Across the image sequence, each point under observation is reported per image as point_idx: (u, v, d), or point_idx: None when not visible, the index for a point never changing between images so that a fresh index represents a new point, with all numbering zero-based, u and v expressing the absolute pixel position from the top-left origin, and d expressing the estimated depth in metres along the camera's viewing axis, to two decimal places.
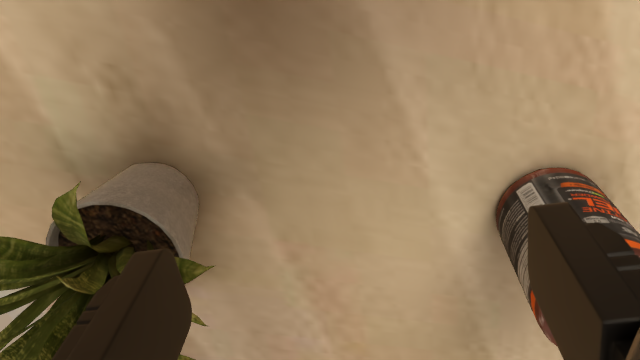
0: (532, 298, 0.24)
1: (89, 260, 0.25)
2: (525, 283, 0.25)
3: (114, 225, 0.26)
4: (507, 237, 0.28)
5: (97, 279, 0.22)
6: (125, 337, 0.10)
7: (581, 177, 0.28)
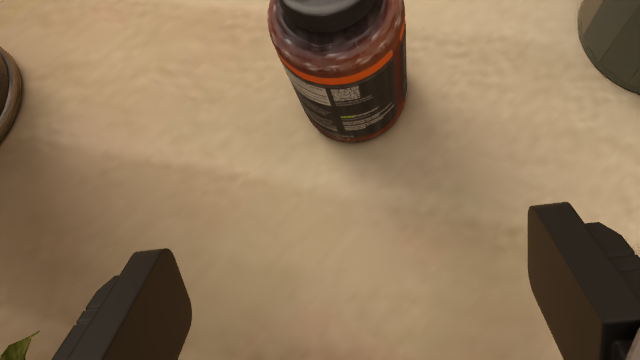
0: (303, 76, 0.23)
1: None
2: (309, 88, 0.24)
3: None
4: (317, 116, 0.27)
5: None
6: (125, 337, 0.10)
7: None
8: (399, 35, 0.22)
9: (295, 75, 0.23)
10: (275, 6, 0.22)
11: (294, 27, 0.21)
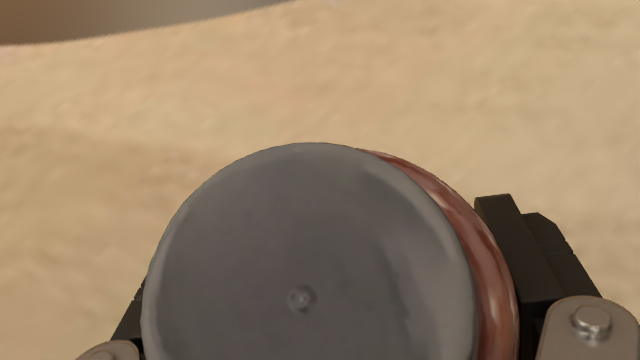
0: None
1: None
2: None
3: None
4: None
5: None
6: None
7: None
8: None
9: None
10: None
11: None
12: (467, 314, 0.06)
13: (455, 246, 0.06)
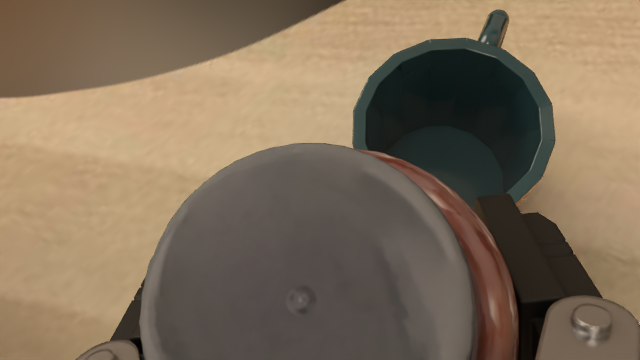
0: None
1: None
2: None
3: None
4: None
5: None
6: None
7: None
8: None
9: None
10: None
11: None
12: (466, 315, 0.06)
13: (454, 247, 0.06)
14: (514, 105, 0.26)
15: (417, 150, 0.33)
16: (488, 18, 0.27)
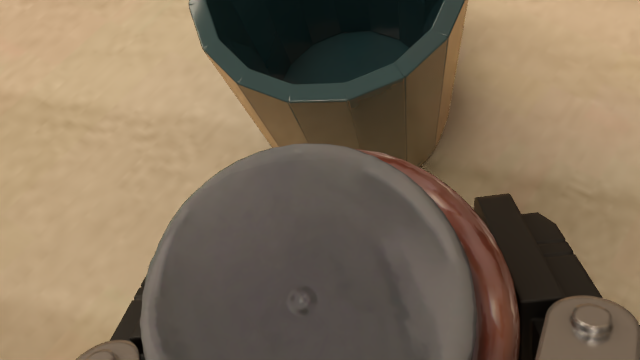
0: None
1: None
2: None
3: None
4: None
5: None
6: None
7: None
8: None
9: None
10: None
11: None
12: (467, 315, 0.06)
13: (455, 247, 0.06)
14: None
15: (329, 62, 0.26)
16: None
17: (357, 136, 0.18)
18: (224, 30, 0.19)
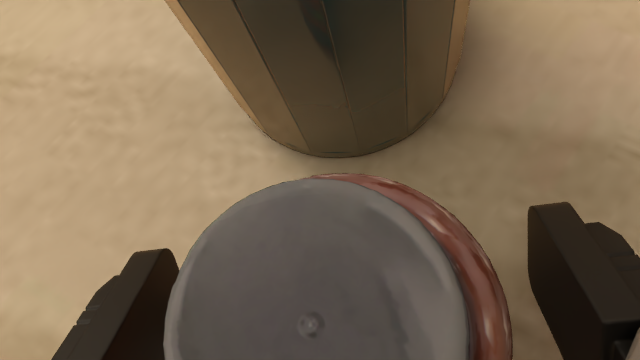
0: None
1: None
2: None
3: None
4: None
5: None
6: (125, 337, 0.10)
7: None
8: None
9: None
10: None
11: None
12: (461, 340, 0.06)
13: (450, 277, 0.06)
14: None
15: None
16: None
17: (335, 54, 0.12)
18: None
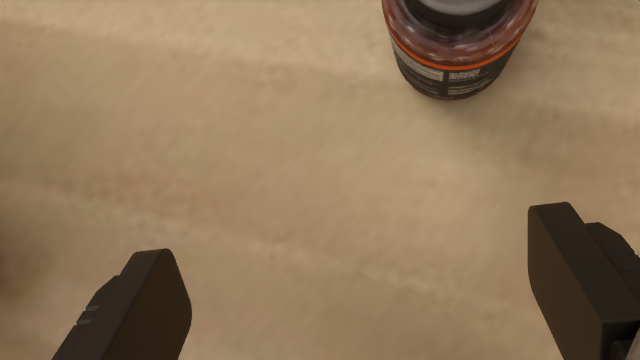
0: (422, 61, 0.21)
1: None
2: (423, 68, 0.22)
3: None
4: (419, 82, 0.25)
5: None
6: (125, 337, 0.10)
7: None
8: None
9: (410, 57, 0.21)
10: None
11: (420, 16, 0.19)
12: None
13: None
14: None
15: None
16: None
17: None
18: None
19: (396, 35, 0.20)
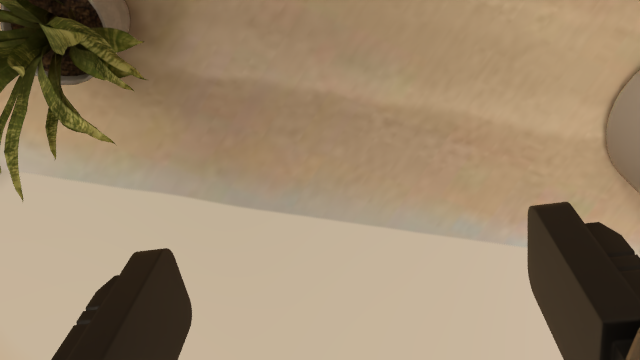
0: None
1: None
2: None
3: None
4: None
5: None
6: (125, 337, 0.10)
7: None
8: None
9: None
10: None
11: None
12: None
13: None
14: None
15: None
16: None
17: None
18: None
19: None
